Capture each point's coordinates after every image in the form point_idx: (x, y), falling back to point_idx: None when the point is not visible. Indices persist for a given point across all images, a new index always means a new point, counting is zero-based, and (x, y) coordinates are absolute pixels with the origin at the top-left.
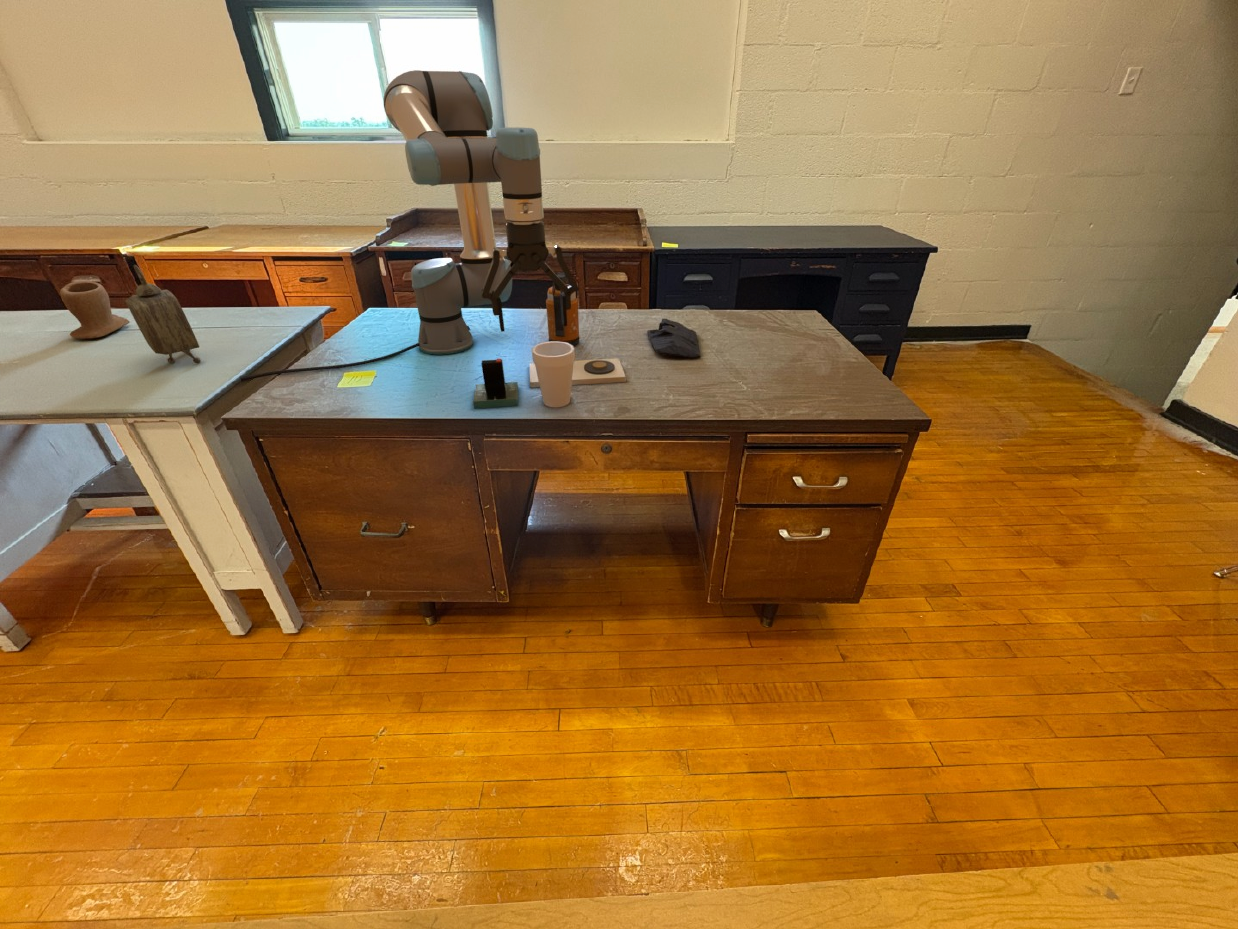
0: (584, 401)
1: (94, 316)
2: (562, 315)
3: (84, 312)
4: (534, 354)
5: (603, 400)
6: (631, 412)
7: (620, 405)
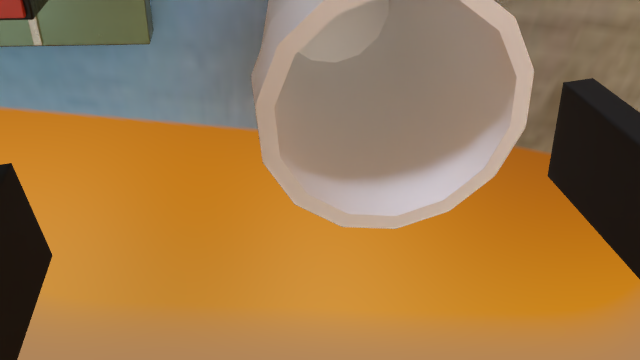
0: None
1: None
2: (597, 179)
3: None
4: (271, 171)
5: (524, 22)
6: None
7: (569, 73)
